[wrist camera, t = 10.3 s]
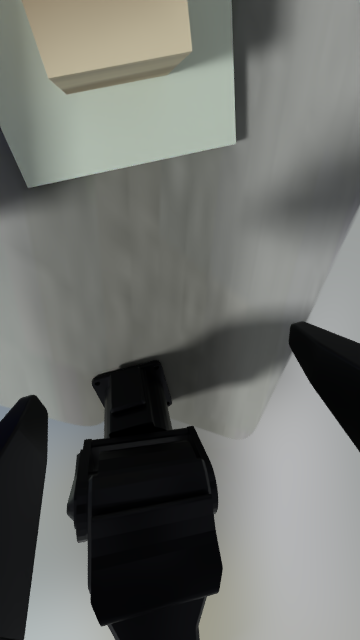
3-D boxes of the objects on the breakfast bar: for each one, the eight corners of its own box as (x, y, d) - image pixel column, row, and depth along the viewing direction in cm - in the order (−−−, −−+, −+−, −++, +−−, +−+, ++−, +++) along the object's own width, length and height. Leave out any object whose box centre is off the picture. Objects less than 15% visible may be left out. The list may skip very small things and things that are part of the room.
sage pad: (229, 143, 17) (235, 143, 16) (32, 185, 16) (28, 188, 15) (213, -263, 9) (222, -300, 9) (-154, -232, 8) (-181, -270, 8)
